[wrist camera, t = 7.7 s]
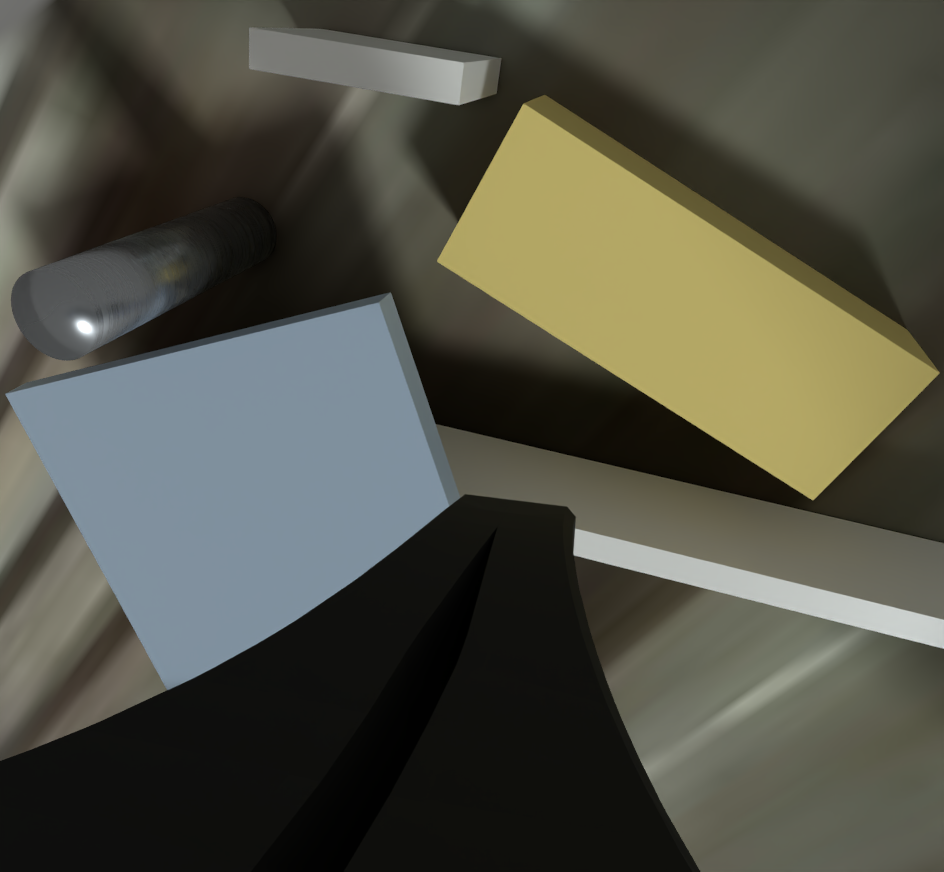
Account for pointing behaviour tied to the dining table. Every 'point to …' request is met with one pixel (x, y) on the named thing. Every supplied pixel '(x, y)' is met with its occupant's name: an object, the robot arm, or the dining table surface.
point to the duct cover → (243, 473)
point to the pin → (138, 277)
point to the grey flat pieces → (631, 492)
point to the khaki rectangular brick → (683, 300)
